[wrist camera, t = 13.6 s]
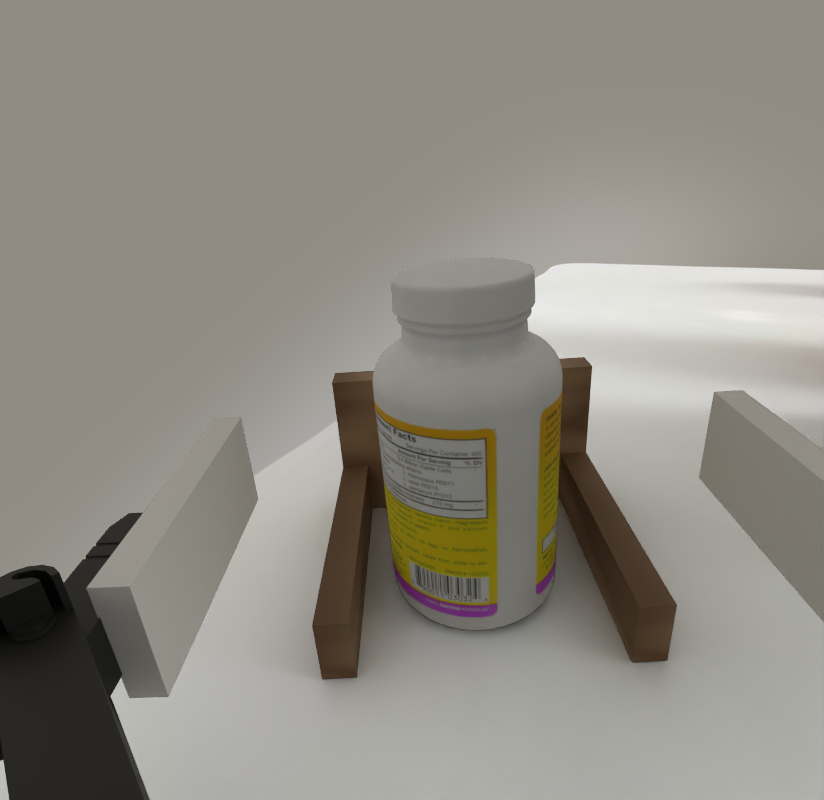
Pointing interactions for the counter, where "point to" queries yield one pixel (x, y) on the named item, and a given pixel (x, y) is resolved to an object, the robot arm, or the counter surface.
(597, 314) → the counter surface
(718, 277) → the counter surface
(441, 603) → the supplement bottle
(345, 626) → the u-shaped wooden bracket
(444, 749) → the counter surface
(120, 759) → the robot arm
